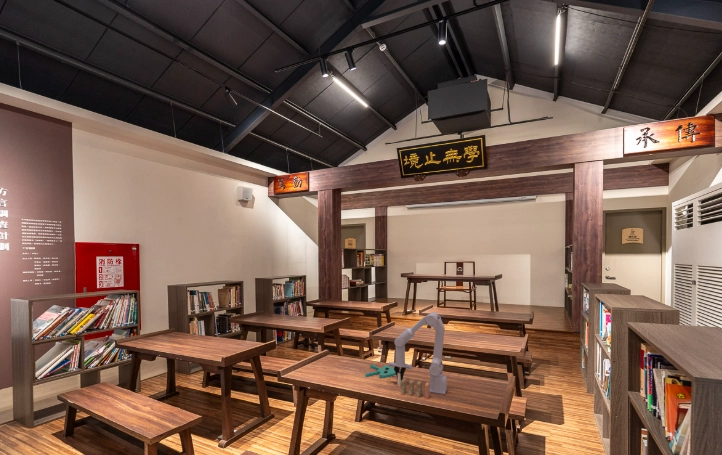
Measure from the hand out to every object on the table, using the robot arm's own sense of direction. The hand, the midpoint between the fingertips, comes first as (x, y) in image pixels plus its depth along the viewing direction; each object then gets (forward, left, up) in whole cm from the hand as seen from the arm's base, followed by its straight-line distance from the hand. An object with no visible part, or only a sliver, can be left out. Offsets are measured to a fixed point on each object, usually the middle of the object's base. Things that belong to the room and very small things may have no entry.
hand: (400, 379), depth 216 cm
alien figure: (+16, -15, -3) cm, 22 cm away
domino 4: (-19, +12, -3) cm, 23 cm away
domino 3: (-15, +12, -3) cm, 19 cm away
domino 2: (-10, +12, -3) cm, 16 cm away
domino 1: (-6, +12, -3) cm, 14 cm away
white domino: (0, 0, -3) cm, 3 cm away
